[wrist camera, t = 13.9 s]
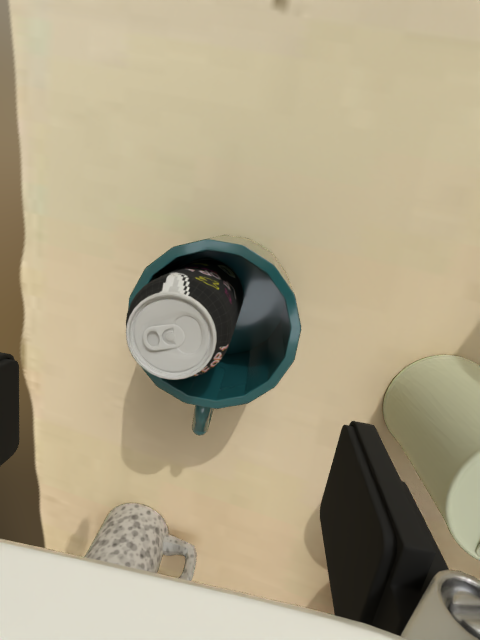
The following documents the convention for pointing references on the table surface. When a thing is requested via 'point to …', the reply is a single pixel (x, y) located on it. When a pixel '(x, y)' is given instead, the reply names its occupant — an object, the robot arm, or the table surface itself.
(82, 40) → the table surface
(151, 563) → the mug
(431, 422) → the can
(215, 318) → the beverage can
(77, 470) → the table surface
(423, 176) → the table surface
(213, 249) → the mug
